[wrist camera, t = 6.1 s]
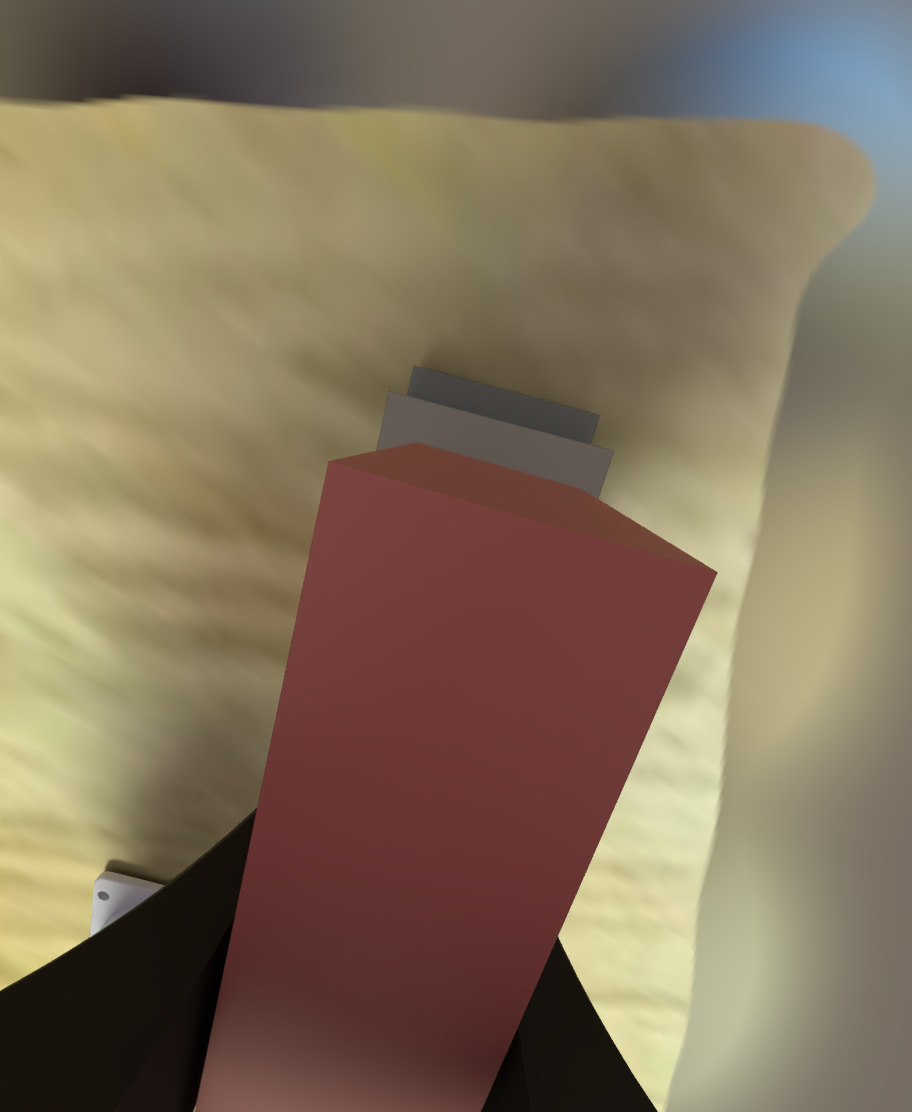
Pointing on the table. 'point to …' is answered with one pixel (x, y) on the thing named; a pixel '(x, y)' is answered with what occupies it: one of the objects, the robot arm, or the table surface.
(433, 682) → the frame bar
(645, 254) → the table surface
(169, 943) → the robot arm
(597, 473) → the display rack
